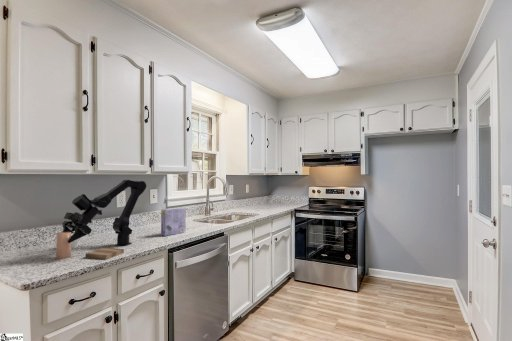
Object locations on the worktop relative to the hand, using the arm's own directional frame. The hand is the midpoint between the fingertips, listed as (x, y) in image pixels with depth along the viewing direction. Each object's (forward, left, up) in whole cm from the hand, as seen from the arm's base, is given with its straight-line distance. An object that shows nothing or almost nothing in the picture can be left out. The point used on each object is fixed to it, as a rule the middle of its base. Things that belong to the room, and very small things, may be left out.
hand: (63, 241), depth 140 cm
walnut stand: (-8, +17, -8) cm, 20 cm away
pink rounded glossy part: (0, 0, -8) cm, 8 cm away
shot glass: (-18, -14, -8) cm, 24 cm away
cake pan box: (-66, +22, -8) cm, 70 cm away
